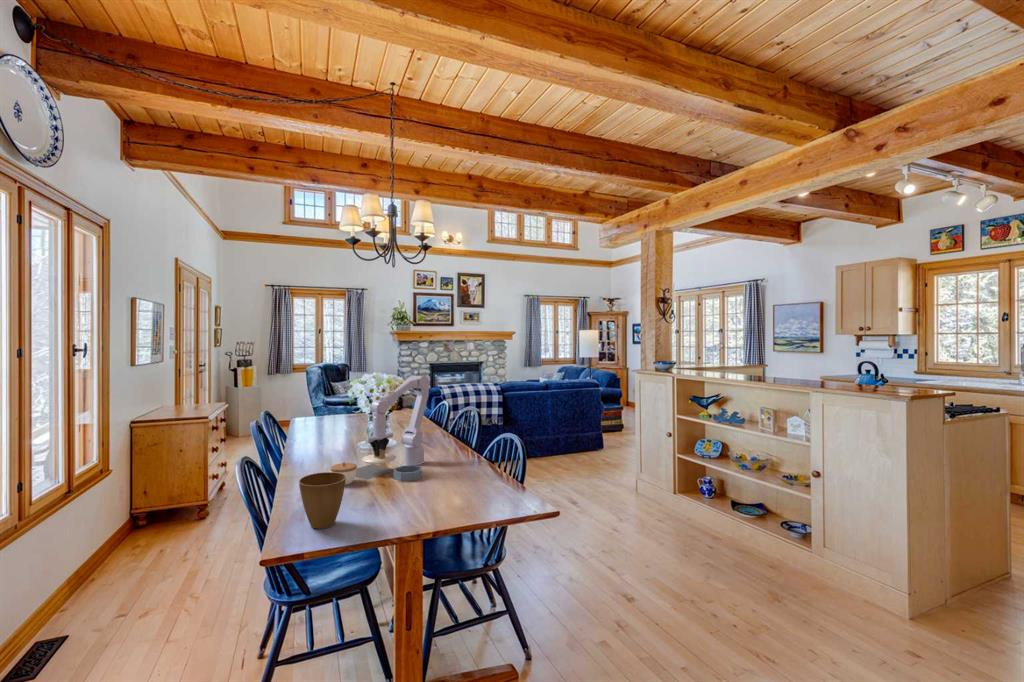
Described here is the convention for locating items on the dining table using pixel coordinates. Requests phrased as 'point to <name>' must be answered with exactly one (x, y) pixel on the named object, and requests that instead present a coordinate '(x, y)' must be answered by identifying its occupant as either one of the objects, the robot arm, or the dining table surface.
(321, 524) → the plant pot
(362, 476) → the mat
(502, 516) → the dining table surface
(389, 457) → the cover
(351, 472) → the lidded jar
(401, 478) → the bowl
